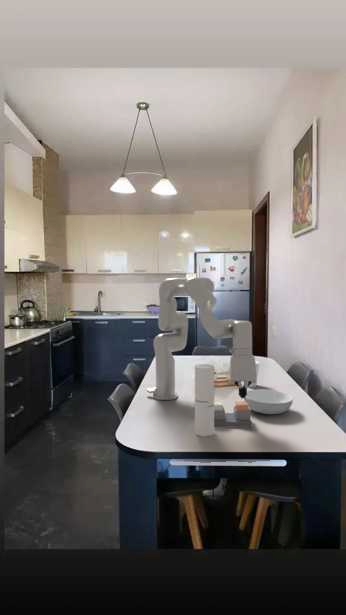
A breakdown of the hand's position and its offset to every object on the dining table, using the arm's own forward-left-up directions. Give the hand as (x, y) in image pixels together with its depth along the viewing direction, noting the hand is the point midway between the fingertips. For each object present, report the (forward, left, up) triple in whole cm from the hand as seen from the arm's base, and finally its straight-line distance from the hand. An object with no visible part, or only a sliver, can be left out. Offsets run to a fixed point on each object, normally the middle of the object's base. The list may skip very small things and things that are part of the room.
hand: (242, 397), depth 145 cm
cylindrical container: (-16, -10, -10) cm, 22 cm away
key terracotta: (0, 0, -6) cm, 6 cm away
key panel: (-5, 0, -10) cm, 11 cm away
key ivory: (-10, 0, -6) cm, 12 cm away
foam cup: (+13, +56, -10) cm, 59 cm away
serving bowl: (+13, +14, -11) cm, 22 cm away
